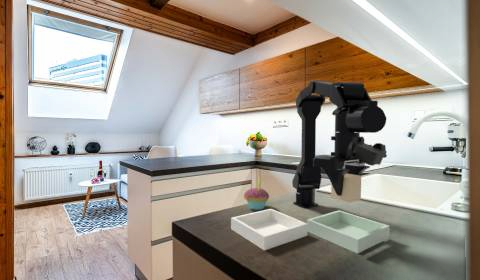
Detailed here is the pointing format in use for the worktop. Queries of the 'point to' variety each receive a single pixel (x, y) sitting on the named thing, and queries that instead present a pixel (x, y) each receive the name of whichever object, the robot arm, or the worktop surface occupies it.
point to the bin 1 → (269, 228)
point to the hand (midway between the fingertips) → (345, 193)
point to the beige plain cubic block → (349, 189)
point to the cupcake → (256, 197)
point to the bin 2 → (349, 230)
